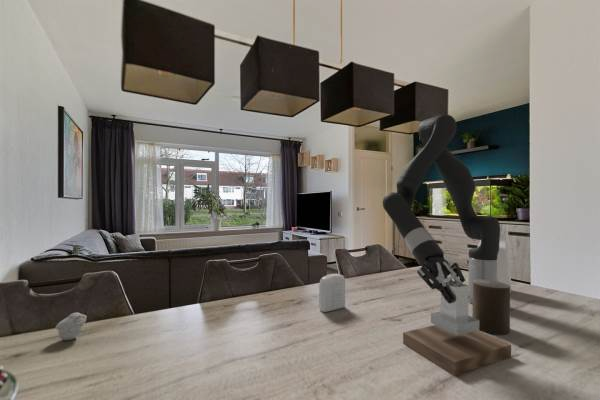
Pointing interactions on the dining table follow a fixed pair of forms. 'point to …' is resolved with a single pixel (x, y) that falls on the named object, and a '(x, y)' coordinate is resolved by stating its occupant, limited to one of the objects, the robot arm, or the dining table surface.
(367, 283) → the dining table surface
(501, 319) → the pillar candle
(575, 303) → the dining table surface
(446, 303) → the block
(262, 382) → the dining table surface
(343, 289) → the photo printer
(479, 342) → the walnut plinth
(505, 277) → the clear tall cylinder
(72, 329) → the frog figurine
